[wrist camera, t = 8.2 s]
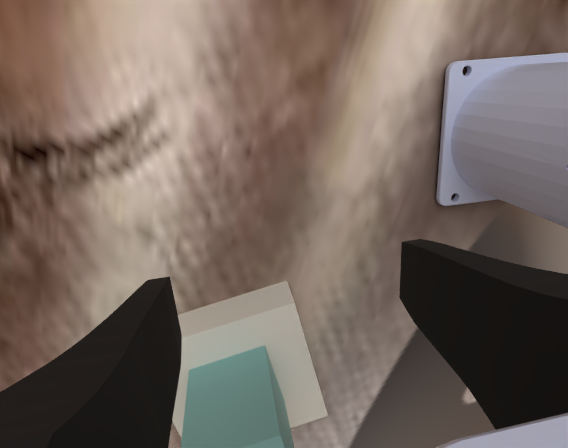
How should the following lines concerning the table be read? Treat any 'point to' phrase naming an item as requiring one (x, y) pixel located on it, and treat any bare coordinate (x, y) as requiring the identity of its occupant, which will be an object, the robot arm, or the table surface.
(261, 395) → the teal block
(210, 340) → the ceramic slab
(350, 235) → the table surface
